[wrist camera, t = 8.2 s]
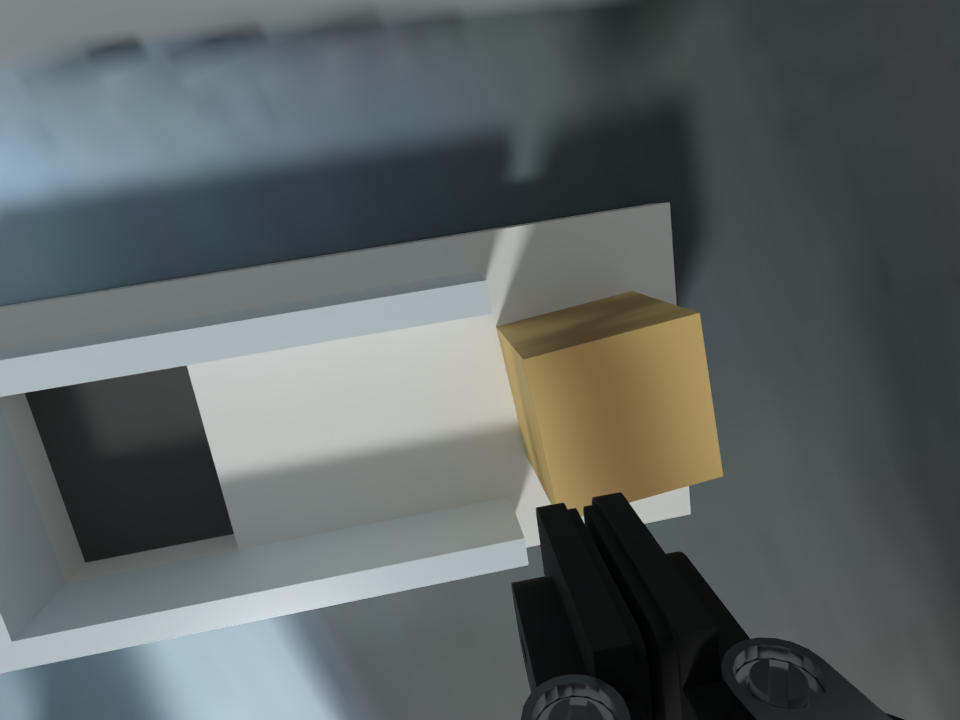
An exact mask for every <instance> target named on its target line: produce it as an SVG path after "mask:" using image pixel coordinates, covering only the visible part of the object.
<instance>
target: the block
mask: <svg viewBox="0 0 960 720" xmlns="http://www.w3.org/2000/svg"><path fill="white" fill-rule="evenodd" d="M496 329H497V333H498V337H499V342H500V346H501V350H502V354H503V359H504V363H505V367H506V371H507V376H508V380H509V384H510V388H511V392H512V397H513V401H514V405H515V409H516V414H517V418H518V422H519V426H520V431H521V435H522V439H523V443H524V447H525V452H526V456H527V458H528V460H529V462H530V464H531V466H532V468H533V469H534V471H535V473H536V475H537V477H538V479H539V481H540V483H541V485H542V487H543V489H544V491H545V493H546V495H547V497H548V499H549V501H550V503H551V505H552V504H558V503H564V504H565V505H566V507H567V509H572V508H576V509H577V510H578V512H579V514H580V516H584V513H583V508H584V506H589V505H592V498H593V497H596V496H602V495H608V494H613V493H619V492H621V493H622V494H623V495H624V497H625V498H626V499H627V501H628V502H629V503H630V502H633V501H637V500H641V499H644V498H648V497H651V496H655V495H658V494H662V493H665V492H669V491H672V490H676V489H679V488H683V487H687V486H690V485H694V484H697V483H701V482H704V481H708V480H711V479H715V478H718V477H722V476H723V471H722V465H721V458H720V451H719V444H718V437H717V430H716V423H715V416H714V409H713V402H712V395H711V388H710V381H709V375H708V368H707V361H706V354H705V347H704V340H703V333H702V326H701V319H700V313H698V312H695V311H692V310H689V309H686V308H683V307H680V306H677V305H674V304H671V303H668V302H664V301H661V300H658V299H655V298H652V297H649V296H646V295H643V294H640V293H637V292H634V291H630V292H627V293H623V294H619V295H615V296H611V297H607V298H604V299H600V300H596V301H592V302H588V303H584V304H581V305H577V306H573V307H569V308H565V309H561V310H558V311H554V312H550V313H546V314H542V315H538V316H535V317H531V318H527V319H523V320H519V321H515V322H512V323H508V324H504V325H500V326H496Z"/></svg>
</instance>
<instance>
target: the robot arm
mask: <svg viewBox="0 0 960 720" xmlns="http://www.w3.org/2000/svg"><path fill="white" fill-rule="evenodd" d="M583 513H584V522H585V524H584V522H583V520H582V518H581V516H580V514H579V512H578V510H577V509H576V508H572V509H567V507H566V505H565V504H564V503H558V504H552V505H547V506H541V507H536V517H537V524H538V532H539V539H540V546H541V553H542V560H543V567H544V574H545V577H540V578H535V579H529V580H524V581H519V582H513V583H512V584H511V585H512V593H513V600H514V606H515V613H516V619H517V625H518V631H519V637H520V642H521V647H522V653H523V658H524V663H525V667H526V672H527V676H528V681H529V685H530V690H531V694H530V695H529V697H528V699H527V700H526V702H525V704H524V705H523V710H522V716H521V720H904V719H901V718H898V717H895V716H893V715H890V714H887V713H884V712H883V711H882V710H881V709H880V708H879V707H877V706H876V705H875V704H874V703H873V702H872V701H871V700H869V699H868V698H867V697H866V696H865V695H864V694H863V693H861V692H860V691H859V690H858V689H857V688H856V687H855V686H853V685H852V684H851V683H850V682H849V681H848V680H847V679H845V678H844V677H843V676H842V675H841V674H840V673H838V672H837V671H836V670H835V669H834V668H833V667H832V666H830V665H829V664H828V663H827V662H826V661H825V660H824V659H822V658H821V657H819V656H818V655H816V654H815V653H814V652H812V651H811V650H809V649H807V648H805V647H803V646H800V645H798V644H796V643H793V642H790V641H786V640H781V639H777V638H759V637H758V638H753V639H750V638H749V637H748V635H747V634H746V633H745V632H744V630H743V629H742V628H741V626H740V625H739V624H738V623H737V621H736V620H735V619H734V617H733V616H732V615H731V613H730V612H729V611H728V610H727V608H726V607H725V606H724V604H723V603H722V602H721V600H720V599H719V598H718V597H717V595H716V594H715V593H714V591H713V590H712V589H711V587H710V586H709V585H708V584H707V582H706V581H705V580H704V578H703V577H702V576H701V574H700V573H699V572H698V571H697V569H696V568H695V567H694V565H693V564H692V563H691V562H690V560H689V559H688V558H687V556H686V555H685V554H684V553H683V552H673V553H668V554H665V553H664V551H663V550H662V548H661V547H660V546H659V544H658V543H657V541H656V540H655V539H654V537H653V536H652V534H651V533H650V532H649V530H648V529H647V527H646V526H645V525H644V523H643V522H642V520H641V519H640V518H639V516H638V515H637V513H636V512H635V511H634V509H633V508H632V506H631V505H630V504H629V502H628V501H627V499H626V498H625V497H624V495H623V494H622V493H621V492H619V493H613V494H608V495H602V496H596V497H593V498H592V505H589V506H584V508H583Z"/></svg>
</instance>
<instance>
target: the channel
mask: <svg viewBox="0 0 960 720" xmlns="http://www.w3.org/2000/svg"><path fill="white" fill-rule="evenodd" d="M630 291H634V292H637V293H640V294H643V295H646V296H649V297H652V298H655V299H658V300H661V301H664V302H668V303H671V304H674V305H677V303H676V288H675V273H674V258H673V243H672V229H671V214H670V202H668V203H652V204H645V205H639V206H633V207H626V208H620V209H614V210H607V211H601V212H595V213H588V214H582V215H576V216H569V217H563V218H557V219H550V220H544V221H538V222H531V223H525V224H518V225H512V226H506V227H499V228H493V229H487V230H480V231H474V232H468V233H461V234H455V235H449V236H442V237H436V238H430V239H423V240H417V241H411V242H404V243H398V244H392V245H385V246H379V247H373V248H366V249H360V250H354V251H347V252H341V253H335V254H328V255H322V256H315V257H309V258H303V259H296V260H290V261H284V262H277V263H271V264H265V265H258V266H252V267H246V268H239V269H233V270H227V271H220V272H214V273H208V274H201V275H195V276H189V277H182V278H176V279H170V280H163V281H157V282H151V283H144V284H138V285H132V286H125V287H119V288H113V289H106V290H100V291H93V292H87V293H81V294H74V295H68V296H62V297H55V298H49V299H43V300H36V301H30V302H24V303H17V304H11V305H5V306H0V674H1V673H5V672H10V671H15V670H20V669H25V668H30V667H35V666H40V665H44V664H49V663H54V662H59V661H64V660H69V659H74V658H78V657H83V656H88V655H93V654H98V653H103V652H108V651H112V650H117V649H122V648H127V647H132V646H137V645H142V644H147V643H151V642H156V641H161V640H166V639H171V638H176V637H181V636H185V635H190V634H195V633H200V632H205V631H210V630H215V629H219V628H224V627H229V626H234V625H239V624H244V623H249V622H254V621H258V620H263V619H268V618H273V617H278V616H283V615H288V614H292V613H297V612H302V611H307V610H312V609H317V608H322V607H327V606H331V605H336V604H341V603H346V602H351V601H356V600H361V599H365V598H370V597H375V596H380V595H385V594H390V593H395V592H399V591H404V590H409V589H414V588H419V587H424V586H429V585H434V584H438V583H443V582H448V581H453V580H458V579H463V578H468V577H472V576H477V575H482V574H487V573H492V572H497V571H502V570H506V569H511V568H516V567H521V566H526V565H528V558H527V551H526V547H531V546H536V545H540V539H539V532H538V524H537V517H536V507H541V506H547V505H551V503H550V501H549V499H548V497H547V495H546V493H545V491H544V489H543V487H542V485H541V483H540V481H539V479H538V477H537V475H536V473H535V471H534V469H533V468H532V466H531V464H530V462H529V460H528V458H527V456H526V452H525V447H524V443H523V439H522V435H521V431H520V426H519V422H518V418H517V414H516V409H515V405H514V401H513V397H512V392H511V388H510V384H509V380H508V376H507V371H506V367H505V363H504V359H503V354H502V350H501V346H500V342H499V337H498V333H497V329H496V326H500V325H504V324H508V323H512V322H515V321H519V320H523V319H527V318H531V317H535V316H538V315H542V314H546V313H550V312H554V311H558V310H561V309H565V308H569V307H573V306H577V305H581V304H584V303H588V302H592V301H596V300H600V299H604V298H607V297H611V296H615V295H619V294H623V293H627V292H630ZM629 504H630V505H631V506H632V508H633V509H634V511H635V512H636V513H637V515H638V516H639V518H640V519H641V520H642V522H643V523H644V524H645V523H650V522H654V521H659V520H664V519H669V518H674V517H679V516H684V515H689V514H691V511H690V496H689V486H687V487H683V488H679V489H676V490H672V491H669V492H665V493H662V494H658V495H655V496H651V497H648V498H644V499H641V500H637V501H633V502H630V503H629ZM581 518H582V520H583V522H584V516H581ZM584 524H585V522H584Z"/></svg>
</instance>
